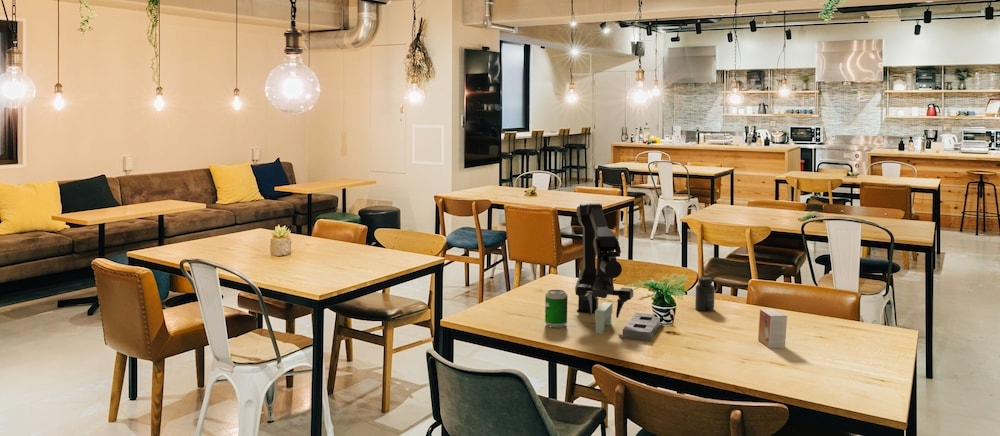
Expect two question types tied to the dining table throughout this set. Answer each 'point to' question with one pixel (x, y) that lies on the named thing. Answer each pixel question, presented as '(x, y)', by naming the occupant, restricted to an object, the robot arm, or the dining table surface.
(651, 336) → the rail
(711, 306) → the supplement bottle
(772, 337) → the small box
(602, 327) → the staple
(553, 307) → the soda can
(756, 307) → the dining table surface
